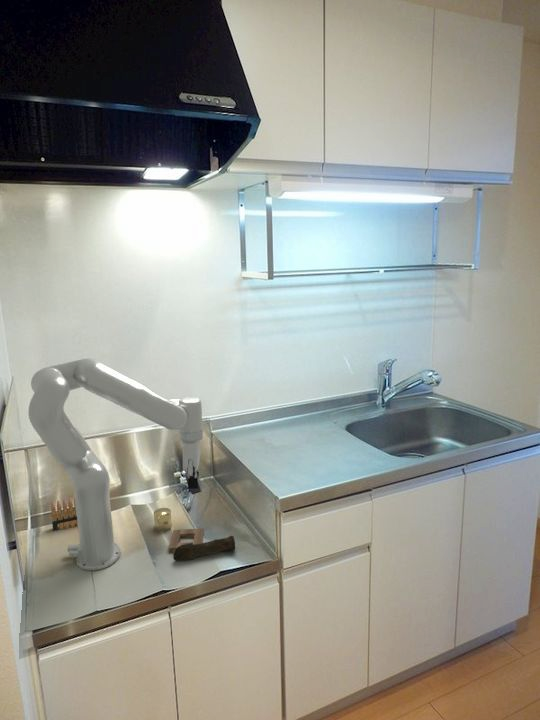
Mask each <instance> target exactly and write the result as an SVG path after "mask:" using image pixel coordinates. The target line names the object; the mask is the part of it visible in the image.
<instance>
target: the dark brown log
mask: <svg viewBox="0 0 540 720" xmlns="http://www.w3.org/2000/svg"><path fill="white" fill-rule="evenodd" d="M228 550H233V551H235V550H236V540H235V536H233V535H229V536H228V537H223V538H219V539H217V538H216V539H212V540H210V541H207V542H203V543H201V544H194V545H193V543H189V544H184V545H181V546H178V548H176V550H175V552H174V553H173V555H172V556H173V561H176V562H178V561H181V562H182V561H191V560H194V558H196V557H200V556H205V555H209V554H213V553H218V552H223V551H228Z"/></svg>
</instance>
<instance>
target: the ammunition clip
mask: <svg viewBox="0 0 540 720" xmlns="http://www.w3.org/2000/svg"><path fill="white" fill-rule="evenodd" d="M67 502H68V504H67ZM67 502H66V499H65V498H63V500H62V506H61V502H60V500H59V499H57V502H56V505H55V502H54V501H53V500H52V501H51V504H50V509H51V510H50V515H51V516H50V517H51V521H52V522H51V524H52V531H53V532H55V531H58V530H63V529H68V528H70V527H71V528H74V527H78V521H77V514H76V504H75V497H74V498H73V502H72V499H71V497H69V498H68V501H67ZM67 505H68V506H67Z"/></svg>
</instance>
